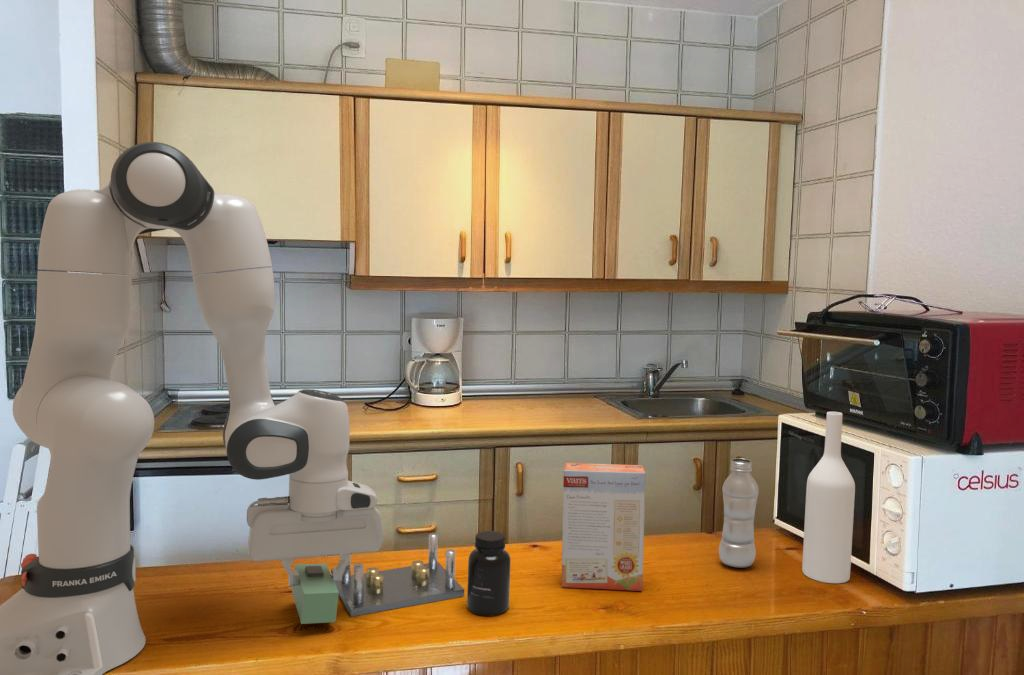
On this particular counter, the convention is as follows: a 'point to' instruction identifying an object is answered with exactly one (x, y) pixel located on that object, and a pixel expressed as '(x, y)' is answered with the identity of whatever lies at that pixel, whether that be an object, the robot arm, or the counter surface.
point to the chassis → (399, 584)
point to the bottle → (829, 512)
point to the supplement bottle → (488, 575)
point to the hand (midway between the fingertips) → (315, 582)
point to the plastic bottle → (739, 515)
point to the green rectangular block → (315, 594)
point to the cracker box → (603, 526)
